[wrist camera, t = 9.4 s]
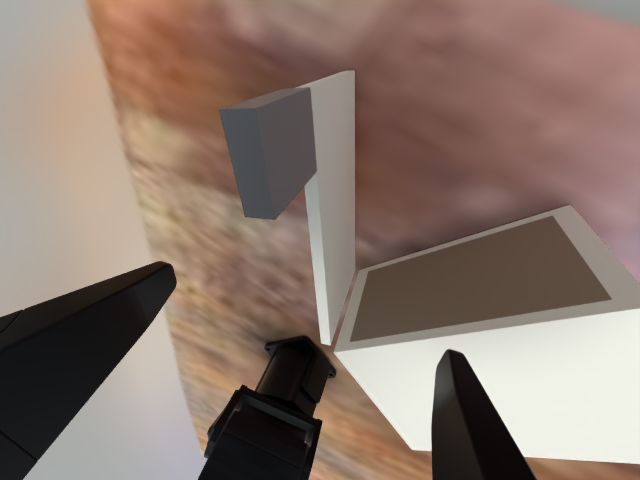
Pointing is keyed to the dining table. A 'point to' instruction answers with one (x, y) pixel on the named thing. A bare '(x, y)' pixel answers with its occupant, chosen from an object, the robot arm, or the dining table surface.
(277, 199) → the front flap
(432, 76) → the dining table surface
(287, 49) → the dining table surface
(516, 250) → the carton
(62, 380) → the robot arm
